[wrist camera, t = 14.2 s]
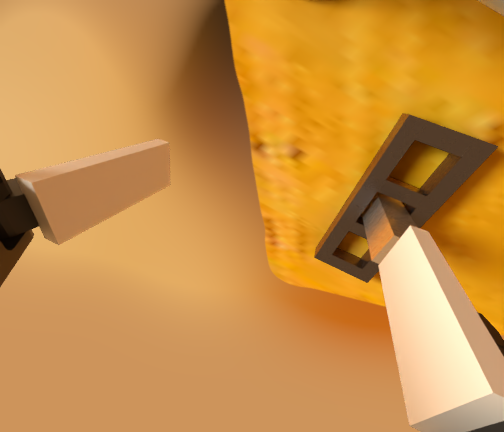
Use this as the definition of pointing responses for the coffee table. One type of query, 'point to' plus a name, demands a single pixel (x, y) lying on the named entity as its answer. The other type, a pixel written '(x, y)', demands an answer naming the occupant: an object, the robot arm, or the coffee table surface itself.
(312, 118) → the coffee table surface
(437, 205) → the dark grey ladder frame
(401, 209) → the beige tall block
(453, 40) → the coffee table surface
